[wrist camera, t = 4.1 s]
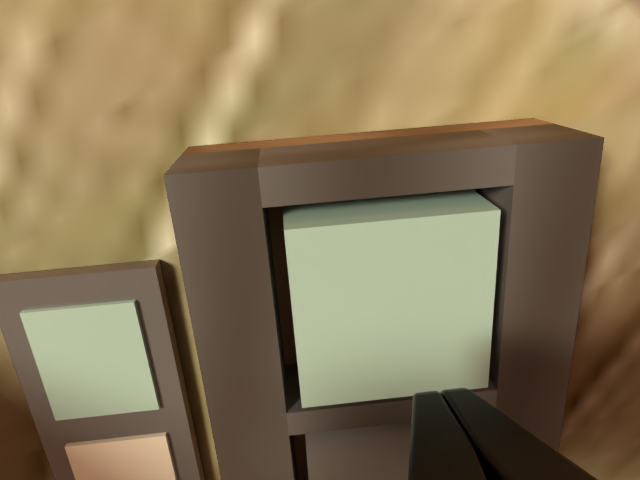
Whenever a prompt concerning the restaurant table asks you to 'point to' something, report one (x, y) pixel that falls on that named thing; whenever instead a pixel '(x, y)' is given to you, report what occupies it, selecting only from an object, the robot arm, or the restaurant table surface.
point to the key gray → (360, 453)
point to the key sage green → (392, 294)
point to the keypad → (361, 183)
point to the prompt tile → (101, 371)
